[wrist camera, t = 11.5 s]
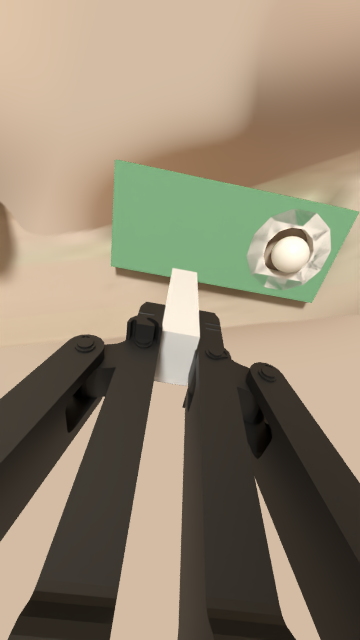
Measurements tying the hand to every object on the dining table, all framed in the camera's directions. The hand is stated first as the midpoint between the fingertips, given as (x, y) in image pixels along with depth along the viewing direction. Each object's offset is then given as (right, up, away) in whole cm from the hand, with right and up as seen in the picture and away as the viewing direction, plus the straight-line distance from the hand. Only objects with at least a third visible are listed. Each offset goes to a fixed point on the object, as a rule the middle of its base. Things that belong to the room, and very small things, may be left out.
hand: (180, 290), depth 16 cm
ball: (+14, +6, +16) cm, 22 cm away
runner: (+6, +9, +17) cm, 20 cm away
